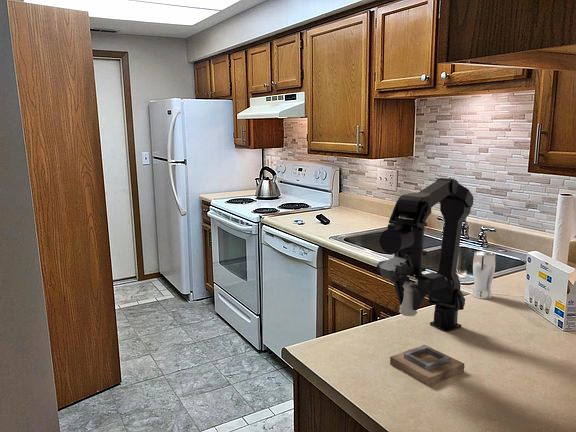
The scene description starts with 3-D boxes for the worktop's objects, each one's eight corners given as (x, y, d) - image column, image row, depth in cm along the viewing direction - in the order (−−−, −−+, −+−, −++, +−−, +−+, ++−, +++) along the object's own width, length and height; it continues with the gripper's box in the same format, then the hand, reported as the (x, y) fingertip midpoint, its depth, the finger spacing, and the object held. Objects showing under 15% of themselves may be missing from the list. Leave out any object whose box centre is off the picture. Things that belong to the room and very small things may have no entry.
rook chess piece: (404, 308, 122) (405, 278, 120) (420, 313, 119) (421, 282, 117) (395, 313, 118) (396, 283, 117) (412, 318, 115) (413, 286, 114)
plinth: (424, 351, 121) (424, 340, 120) (463, 371, 111) (464, 358, 110) (390, 364, 114) (390, 352, 114) (428, 386, 104) (429, 372, 104)
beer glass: (483, 291, 166) (485, 250, 163) (497, 298, 159) (500, 255, 157) (466, 293, 164) (469, 251, 161) (480, 300, 157) (483, 256, 155)
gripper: (361, 243, 119) (359, 301, 122) (415, 259, 104) (412, 326, 106) (393, 238, 125) (391, 294, 128) (450, 252, 109) (446, 316, 112)
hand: (408, 307), depth 118 cm, fingers closed on rook chess piece, 4 cm apart
